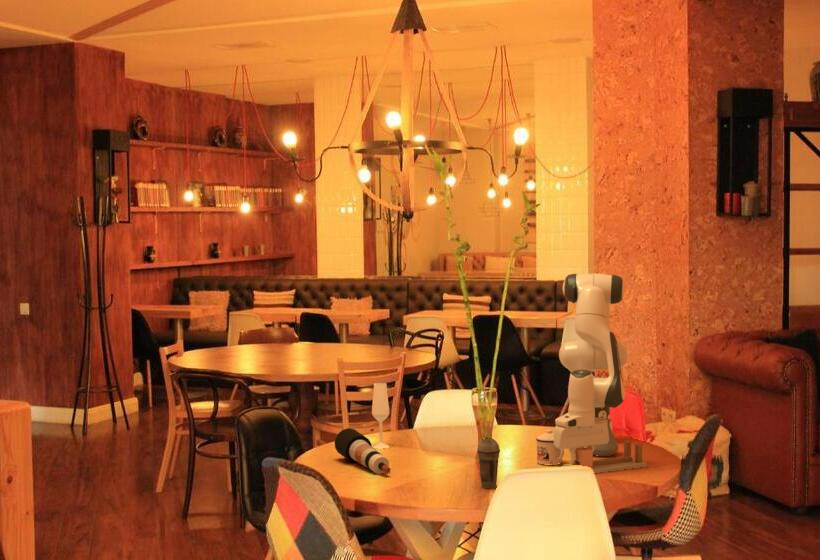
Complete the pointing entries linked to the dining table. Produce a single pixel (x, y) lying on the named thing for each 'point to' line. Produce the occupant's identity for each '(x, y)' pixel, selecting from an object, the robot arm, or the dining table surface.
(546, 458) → the teacup with lid
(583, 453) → the block
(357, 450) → the cable
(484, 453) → the beverage cup
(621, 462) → the rail board
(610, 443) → the coffee pot
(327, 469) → the dining table surface
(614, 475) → the dining table surface
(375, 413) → the champagne flute
